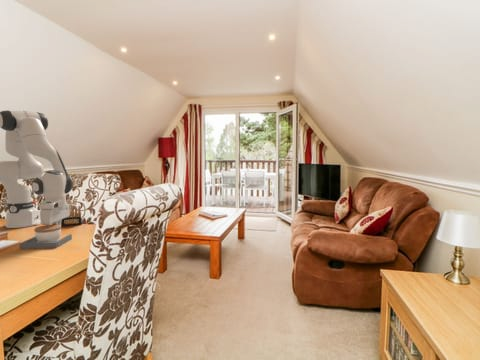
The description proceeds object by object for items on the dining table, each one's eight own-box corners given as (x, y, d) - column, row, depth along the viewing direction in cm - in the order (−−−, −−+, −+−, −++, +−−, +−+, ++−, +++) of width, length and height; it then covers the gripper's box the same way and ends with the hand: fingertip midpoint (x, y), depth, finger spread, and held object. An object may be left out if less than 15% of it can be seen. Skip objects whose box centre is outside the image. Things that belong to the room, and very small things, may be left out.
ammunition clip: (61, 226, 165) (60, 206, 164) (61, 226, 167) (60, 206, 166) (81, 224, 170) (80, 205, 169) (82, 224, 171) (81, 205, 170)
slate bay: (38, 239, 140) (38, 234, 140) (71, 238, 141) (71, 234, 141) (19, 248, 126) (19, 243, 126) (56, 247, 128) (56, 242, 128)
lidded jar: (33, 247, 128) (31, 227, 127) (38, 241, 137) (36, 222, 137) (60, 244, 132) (59, 225, 132) (63, 238, 142) (62, 220, 141)
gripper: (60, 199, 151) (61, 224, 152) (36, 206, 130) (38, 235, 132) (72, 199, 151) (73, 224, 152) (50, 206, 131) (52, 234, 132)
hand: (57, 229), depth 142 cm, fingers closed
